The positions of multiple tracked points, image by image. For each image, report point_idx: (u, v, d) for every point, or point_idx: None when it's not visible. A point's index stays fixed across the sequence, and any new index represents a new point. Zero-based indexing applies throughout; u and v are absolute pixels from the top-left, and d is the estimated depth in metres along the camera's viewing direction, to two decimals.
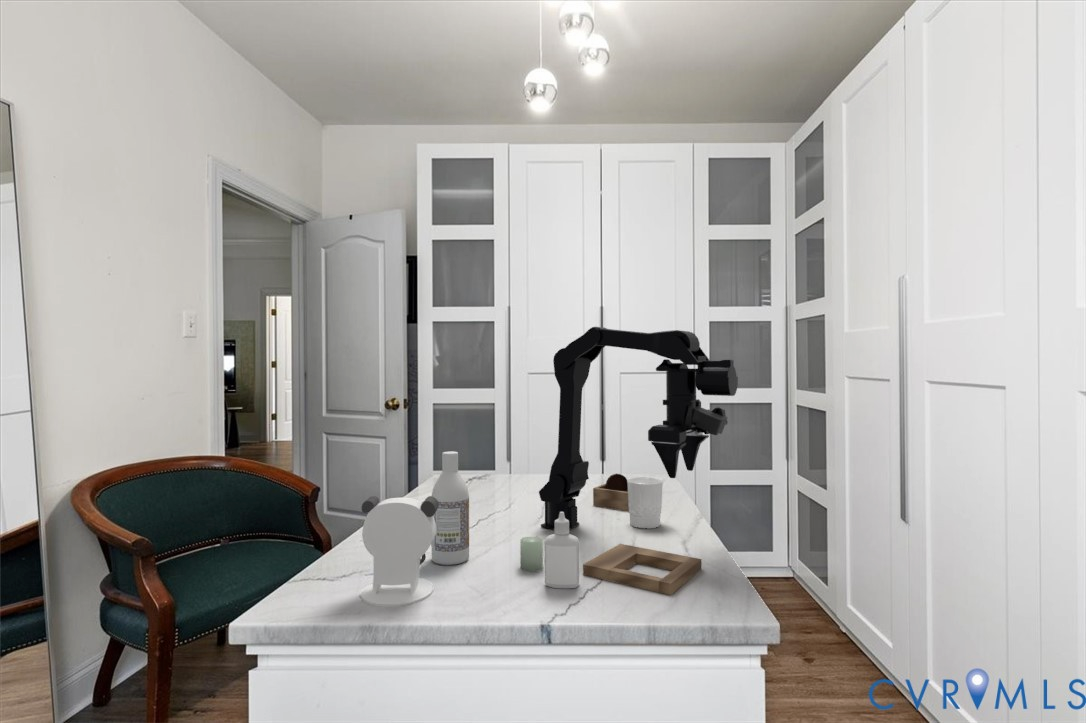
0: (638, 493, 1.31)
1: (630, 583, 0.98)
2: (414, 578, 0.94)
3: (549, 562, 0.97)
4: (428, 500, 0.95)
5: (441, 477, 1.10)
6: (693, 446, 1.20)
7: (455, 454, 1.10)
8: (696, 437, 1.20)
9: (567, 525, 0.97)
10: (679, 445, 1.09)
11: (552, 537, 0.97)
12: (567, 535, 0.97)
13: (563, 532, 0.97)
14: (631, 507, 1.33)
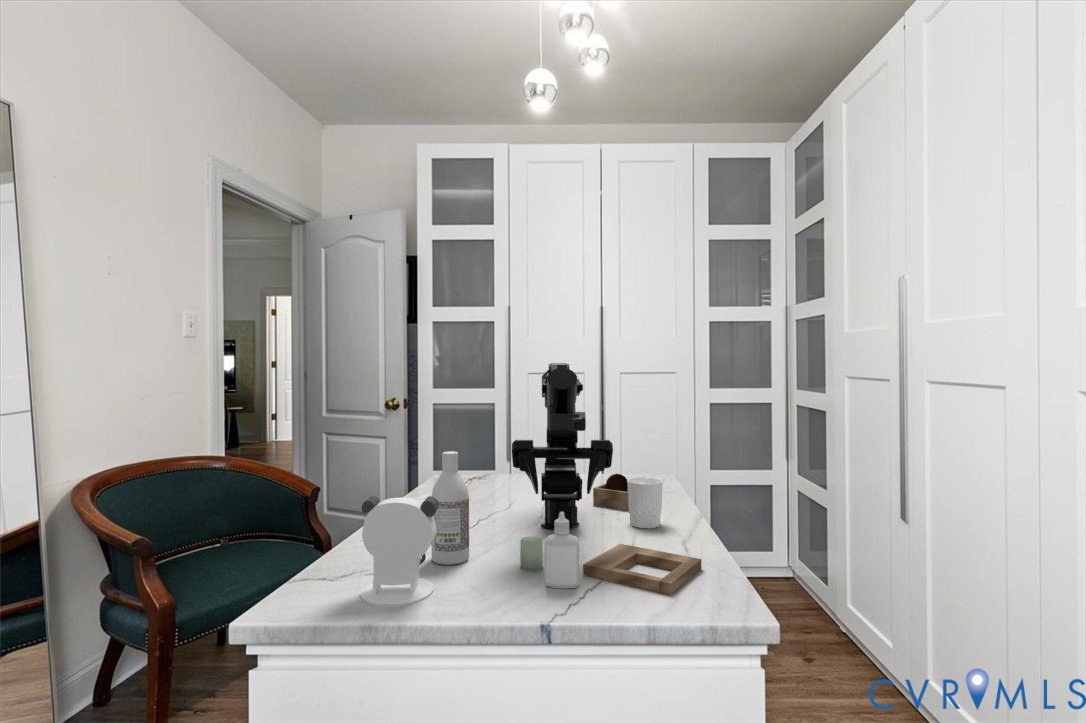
0: (638, 493, 1.31)
1: (630, 583, 0.98)
2: (414, 578, 0.94)
3: (549, 562, 0.97)
4: (428, 500, 0.95)
5: (441, 477, 1.10)
6: None
7: (455, 454, 1.10)
8: None
9: (567, 525, 0.97)
10: (519, 452, 1.09)
11: (552, 537, 0.97)
12: (567, 535, 0.97)
13: (563, 532, 0.97)
14: (631, 507, 1.33)
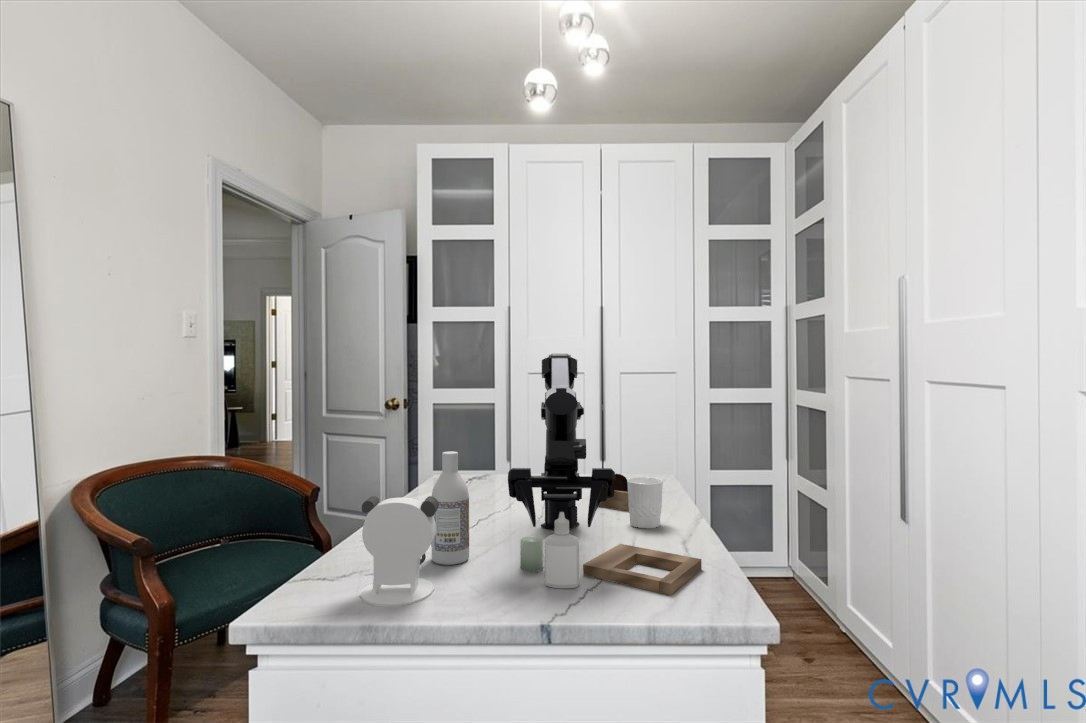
0: (638, 493, 1.31)
1: (630, 583, 0.98)
2: (414, 578, 0.94)
3: (549, 562, 0.97)
4: (428, 500, 0.95)
5: (441, 477, 1.10)
6: None
7: (455, 454, 1.10)
8: None
9: (567, 525, 0.97)
10: (516, 482, 1.03)
11: (552, 537, 0.97)
12: (567, 535, 0.97)
13: (563, 532, 0.97)
14: (631, 507, 1.33)
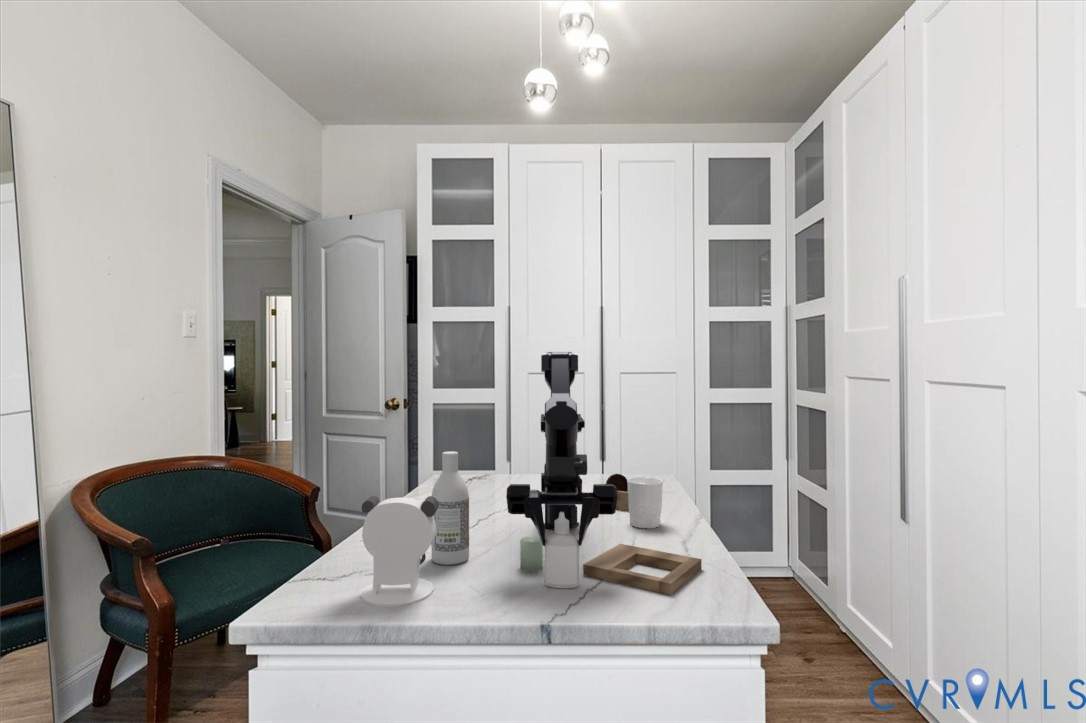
0: (638, 493, 1.31)
1: (630, 583, 0.98)
2: (414, 578, 0.94)
3: (549, 562, 0.97)
4: (428, 500, 0.95)
5: (441, 477, 1.10)
6: (581, 515, 1.00)
7: (455, 454, 1.10)
8: None
9: (567, 525, 0.97)
10: (525, 499, 1.00)
11: (552, 537, 0.97)
12: (567, 535, 0.97)
13: (563, 532, 0.97)
14: (631, 507, 1.33)
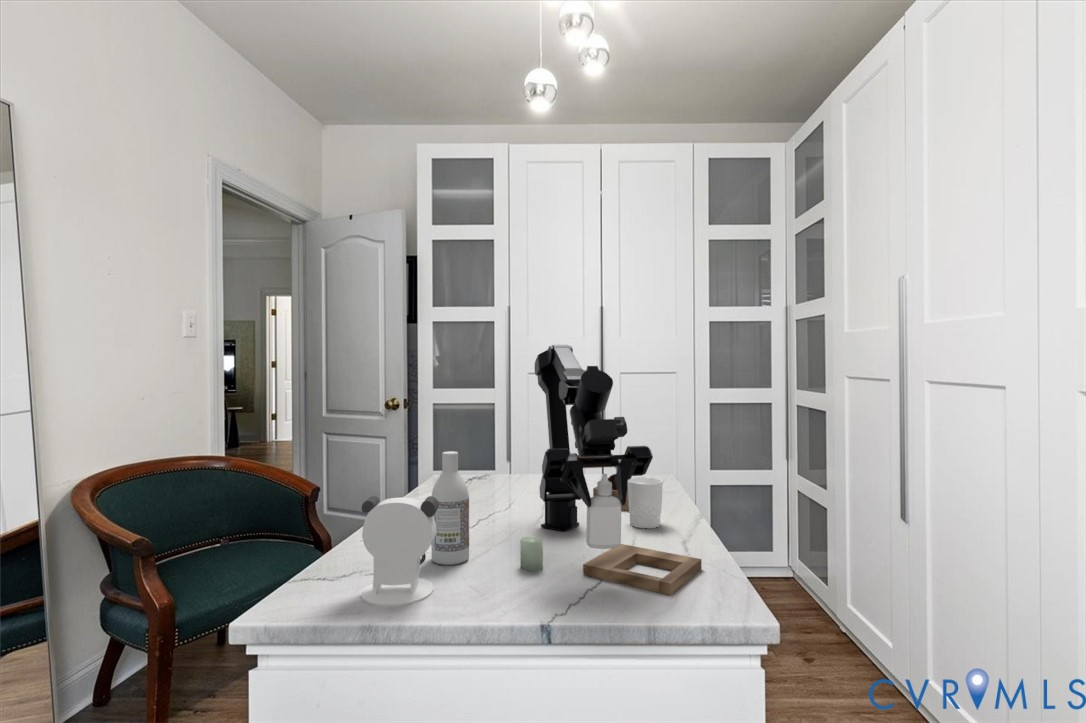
0: (638, 493, 1.31)
1: (630, 583, 0.98)
2: (414, 578, 0.94)
3: (593, 523, 0.98)
4: (428, 500, 0.95)
5: (441, 477, 1.10)
6: (619, 476, 1.02)
7: (455, 454, 1.10)
8: (619, 465, 1.03)
9: (611, 486, 0.99)
10: (566, 462, 1.00)
11: (596, 499, 0.98)
12: (610, 496, 0.99)
13: (608, 493, 0.98)
14: (631, 507, 1.33)
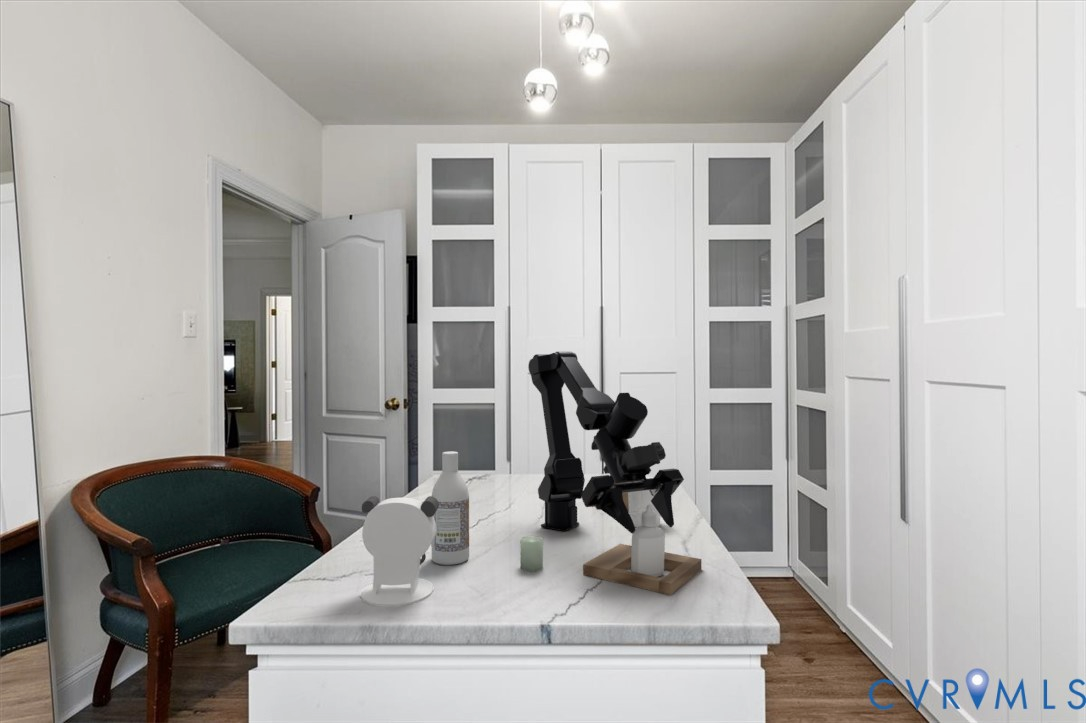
0: (638, 493, 1.31)
1: (630, 583, 0.98)
2: (414, 578, 0.94)
3: (641, 555, 1.01)
4: (428, 500, 0.95)
5: (441, 477, 1.10)
6: (662, 499, 1.06)
7: (455, 454, 1.10)
8: (660, 489, 1.07)
9: (655, 517, 1.02)
10: (608, 490, 1.01)
11: (643, 530, 1.01)
12: (655, 527, 1.02)
13: (654, 524, 1.02)
14: (631, 507, 1.33)
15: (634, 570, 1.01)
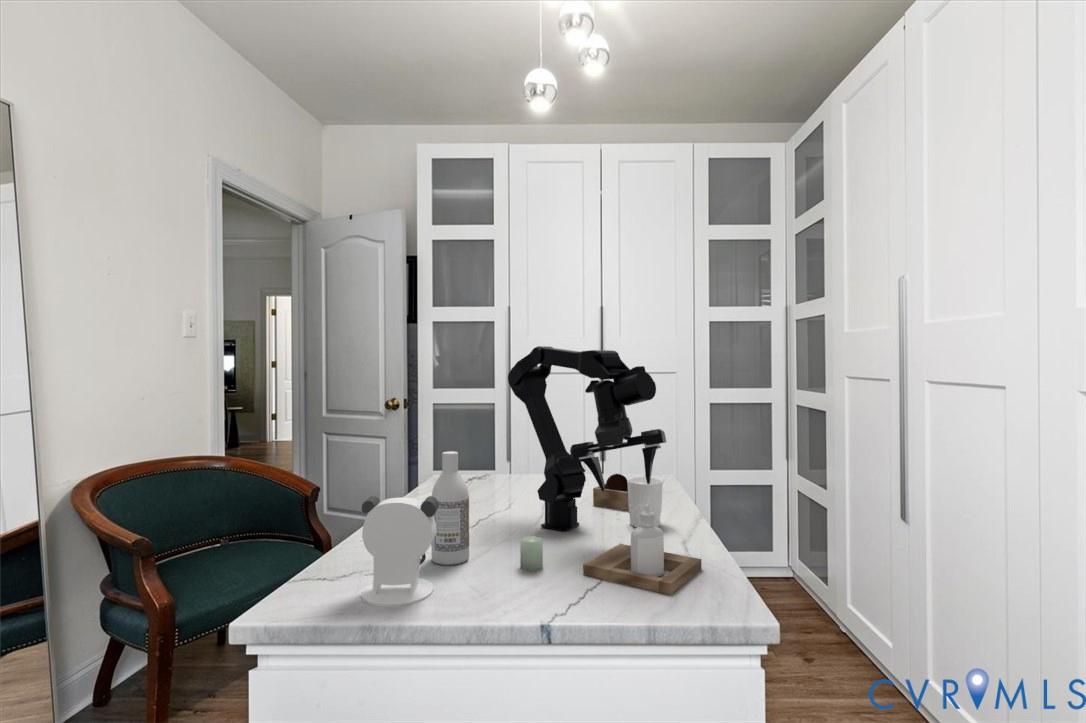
0: (638, 493, 1.31)
1: (630, 583, 0.98)
2: (414, 578, 0.94)
3: (641, 554, 1.01)
4: (428, 500, 0.95)
5: (441, 477, 1.10)
6: None
7: (455, 454, 1.10)
8: None
9: None
10: (579, 460, 1.19)
11: (642, 530, 1.01)
12: (654, 526, 1.02)
13: (652, 523, 1.02)
14: (631, 507, 1.33)
15: (634, 570, 1.01)
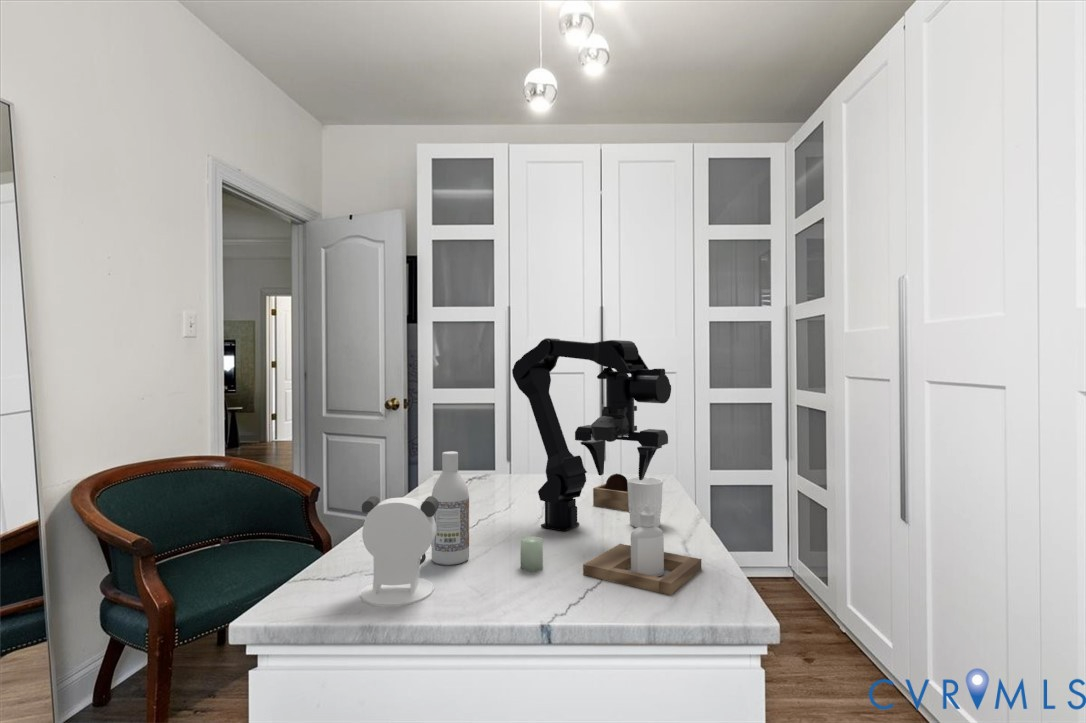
0: (638, 493, 1.31)
1: (630, 583, 0.98)
2: (414, 578, 0.94)
3: (641, 555, 1.01)
4: (428, 500, 0.95)
5: (441, 477, 1.10)
6: None
7: (455, 454, 1.10)
8: None
9: None
10: None
11: (642, 530, 1.01)
12: (654, 526, 1.02)
13: (652, 523, 1.02)
14: (631, 507, 1.33)
15: (634, 570, 1.01)
